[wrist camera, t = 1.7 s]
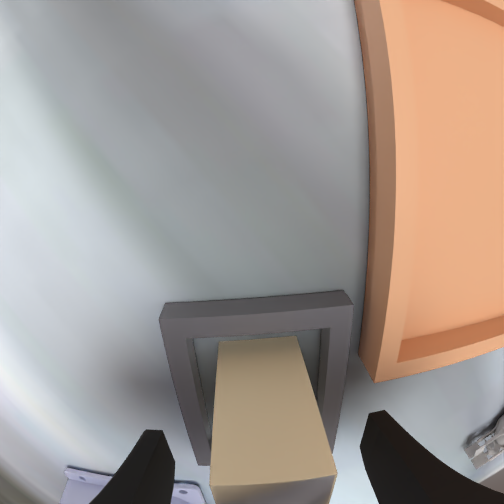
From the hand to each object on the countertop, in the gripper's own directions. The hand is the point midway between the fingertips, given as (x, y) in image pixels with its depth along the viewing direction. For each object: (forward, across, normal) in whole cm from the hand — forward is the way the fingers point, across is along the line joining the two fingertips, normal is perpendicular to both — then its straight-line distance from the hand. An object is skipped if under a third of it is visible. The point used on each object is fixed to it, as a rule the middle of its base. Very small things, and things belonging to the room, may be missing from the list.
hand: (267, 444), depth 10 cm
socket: (+3, 0, 0) cm, 3 cm away
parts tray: (+3, -10, -9) cm, 14 cm away
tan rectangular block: (+3, 0, 0) cm, 3 cm away
